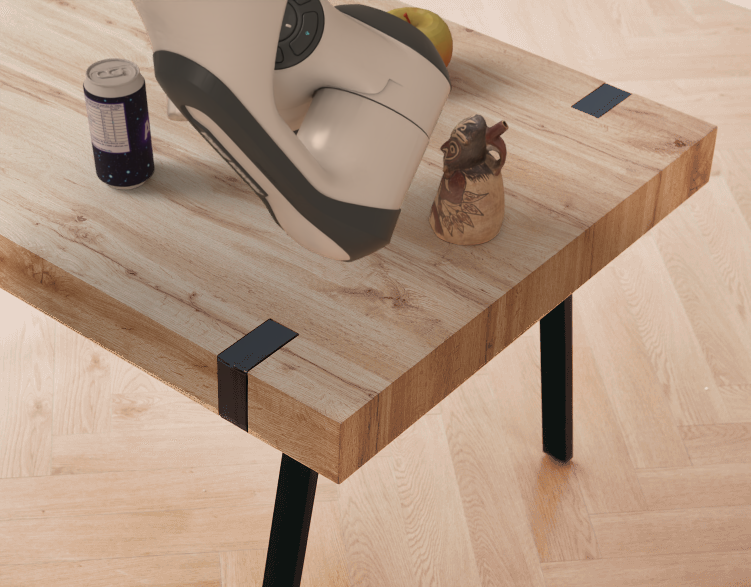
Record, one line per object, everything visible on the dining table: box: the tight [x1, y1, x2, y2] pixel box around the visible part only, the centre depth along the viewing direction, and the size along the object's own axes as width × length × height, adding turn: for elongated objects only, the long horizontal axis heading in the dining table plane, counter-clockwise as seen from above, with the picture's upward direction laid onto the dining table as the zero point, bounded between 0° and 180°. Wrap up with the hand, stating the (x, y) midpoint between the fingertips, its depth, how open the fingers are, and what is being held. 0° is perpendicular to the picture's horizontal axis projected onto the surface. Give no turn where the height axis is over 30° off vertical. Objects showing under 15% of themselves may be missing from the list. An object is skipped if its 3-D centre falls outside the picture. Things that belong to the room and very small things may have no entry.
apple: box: [387, 6, 454, 68], centre depth 122 cm, size 10×10×8 cm
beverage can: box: [82, 57, 155, 191], centre depth 103 cm, size 6×6×12 cm
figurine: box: [427, 113, 509, 246], centre depth 100 cm, size 7×7×12 cm
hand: (278, 114), depth 105 cm, fingers open, 8 cm apart
